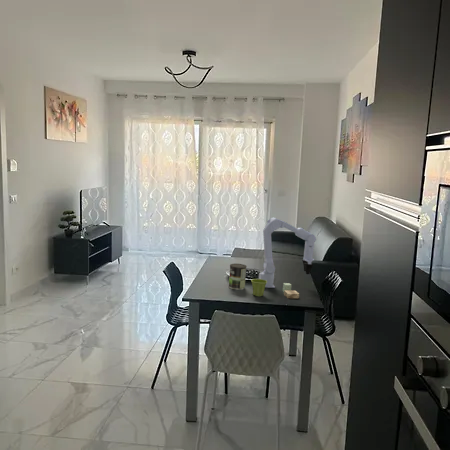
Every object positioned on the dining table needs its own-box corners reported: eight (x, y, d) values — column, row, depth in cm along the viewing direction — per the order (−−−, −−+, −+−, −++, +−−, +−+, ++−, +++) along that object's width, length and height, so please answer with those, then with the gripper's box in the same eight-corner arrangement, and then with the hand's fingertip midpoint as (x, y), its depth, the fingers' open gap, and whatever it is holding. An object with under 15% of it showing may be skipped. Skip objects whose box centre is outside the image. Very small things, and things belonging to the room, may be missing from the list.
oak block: (287, 298, 253) (287, 293, 252) (283, 295, 259) (284, 290, 259) (298, 298, 254) (299, 294, 253) (294, 295, 261) (295, 290, 260)
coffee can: (232, 290, 261) (233, 267, 259) (226, 285, 271) (227, 263, 269) (247, 289, 265) (249, 267, 263) (241, 284, 275) (242, 263, 273)
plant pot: (249, 292, 259) (250, 278, 258) (264, 292, 260) (265, 279, 259) (251, 297, 250) (252, 282, 249) (267, 297, 251) (268, 283, 250)
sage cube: (284, 292, 263) (285, 285, 262) (282, 290, 267) (283, 283, 266) (290, 292, 264) (291, 285, 263) (288, 291, 268) (289, 283, 267)
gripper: (317, 254, 267) (314, 276, 269) (313, 250, 282) (311, 270, 284) (305, 254, 268) (303, 275, 269) (302, 249, 282) (300, 269, 284)
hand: (306, 272), depth 277 cm, fingers open, 7 cm apart
